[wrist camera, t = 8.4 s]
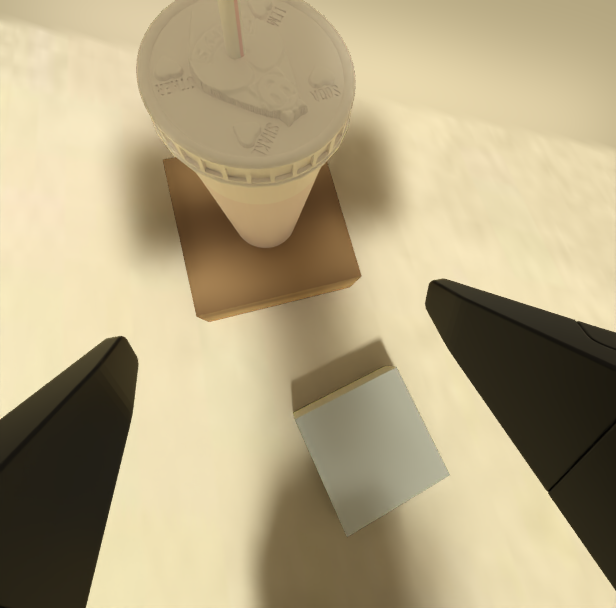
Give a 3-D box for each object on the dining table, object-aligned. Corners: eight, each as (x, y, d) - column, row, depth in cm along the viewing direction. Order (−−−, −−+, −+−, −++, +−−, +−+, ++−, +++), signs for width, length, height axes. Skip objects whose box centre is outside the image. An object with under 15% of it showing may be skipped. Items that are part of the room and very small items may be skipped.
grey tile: (432, 462, 19) (449, 475, 17) (339, 517, 18) (346, 537, 16) (385, 365, 20) (396, 367, 18) (293, 412, 19) (294, 419, 17)
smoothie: (267, 153, 19) (234, -410, 5) (338, 222, 18) (515, -169, 5) (188, 215, 17) (-147, -296, 4) (263, 291, 17) (200, 42, 3)
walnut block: (349, 287, 21) (361, 276, 18) (208, 321, 19) (196, 316, 16) (313, 162, 22) (318, 133, 19) (179, 187, 21) (162, 159, 18)
